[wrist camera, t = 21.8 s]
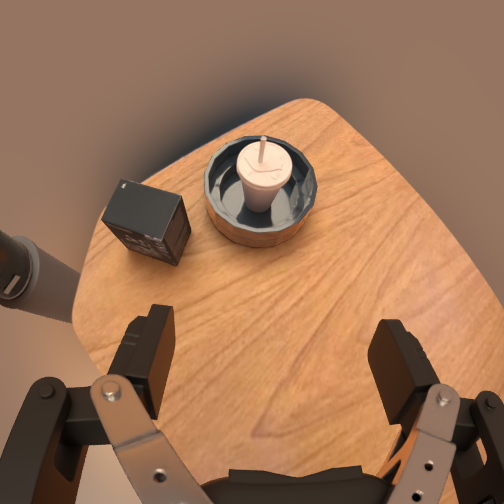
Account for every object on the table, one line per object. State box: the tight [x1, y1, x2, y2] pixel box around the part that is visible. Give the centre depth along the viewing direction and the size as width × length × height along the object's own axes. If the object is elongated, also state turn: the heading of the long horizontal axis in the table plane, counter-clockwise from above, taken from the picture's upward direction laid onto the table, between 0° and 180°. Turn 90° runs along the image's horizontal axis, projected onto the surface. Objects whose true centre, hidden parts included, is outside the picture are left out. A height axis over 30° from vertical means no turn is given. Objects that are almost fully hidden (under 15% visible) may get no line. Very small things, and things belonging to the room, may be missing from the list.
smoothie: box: [237, 136, 292, 213], centre depth 38 cm, size 6×6×14 cm
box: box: [101, 178, 191, 266], centre depth 38 cm, size 8×6×11 cm
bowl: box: [204, 135, 317, 248], centre depth 42 cm, size 14×14×6 cm
